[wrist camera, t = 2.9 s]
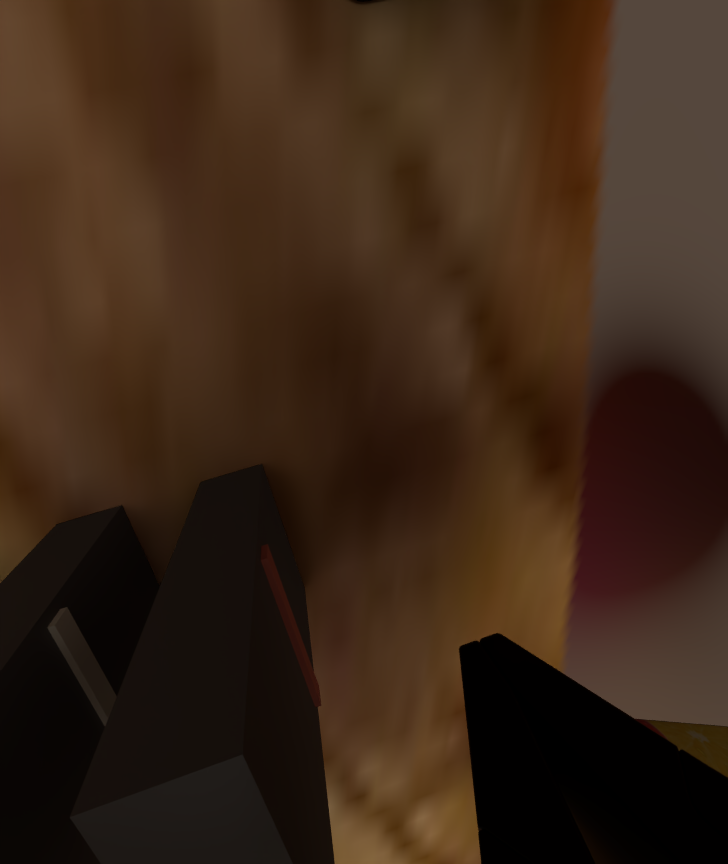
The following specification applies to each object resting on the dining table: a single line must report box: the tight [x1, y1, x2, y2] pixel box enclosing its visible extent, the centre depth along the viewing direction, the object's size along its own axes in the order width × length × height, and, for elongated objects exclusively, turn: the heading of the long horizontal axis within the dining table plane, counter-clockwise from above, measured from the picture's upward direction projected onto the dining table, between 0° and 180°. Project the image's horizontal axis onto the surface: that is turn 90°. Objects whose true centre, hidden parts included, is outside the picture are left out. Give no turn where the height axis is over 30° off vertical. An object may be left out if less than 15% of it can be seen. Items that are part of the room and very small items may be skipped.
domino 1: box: [0, 505, 160, 864], centre depth 10 cm, size 2×5×10 cm, turn 14°
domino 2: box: [70, 464, 335, 864], centre depth 11 cm, size 2×5×10 cm, turn 14°
